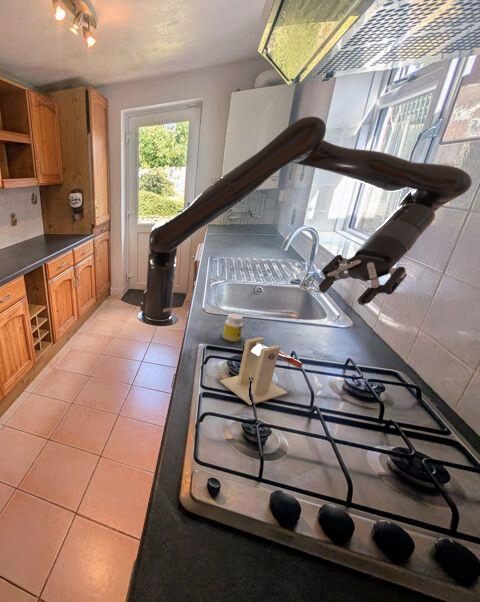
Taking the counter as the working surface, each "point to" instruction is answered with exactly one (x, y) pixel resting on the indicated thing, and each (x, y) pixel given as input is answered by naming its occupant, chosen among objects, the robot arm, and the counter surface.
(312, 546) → the counter surface
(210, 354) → the counter surface
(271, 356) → the bracket
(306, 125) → the robot arm
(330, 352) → the counter surface
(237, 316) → the supplement bottle
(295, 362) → the lever
